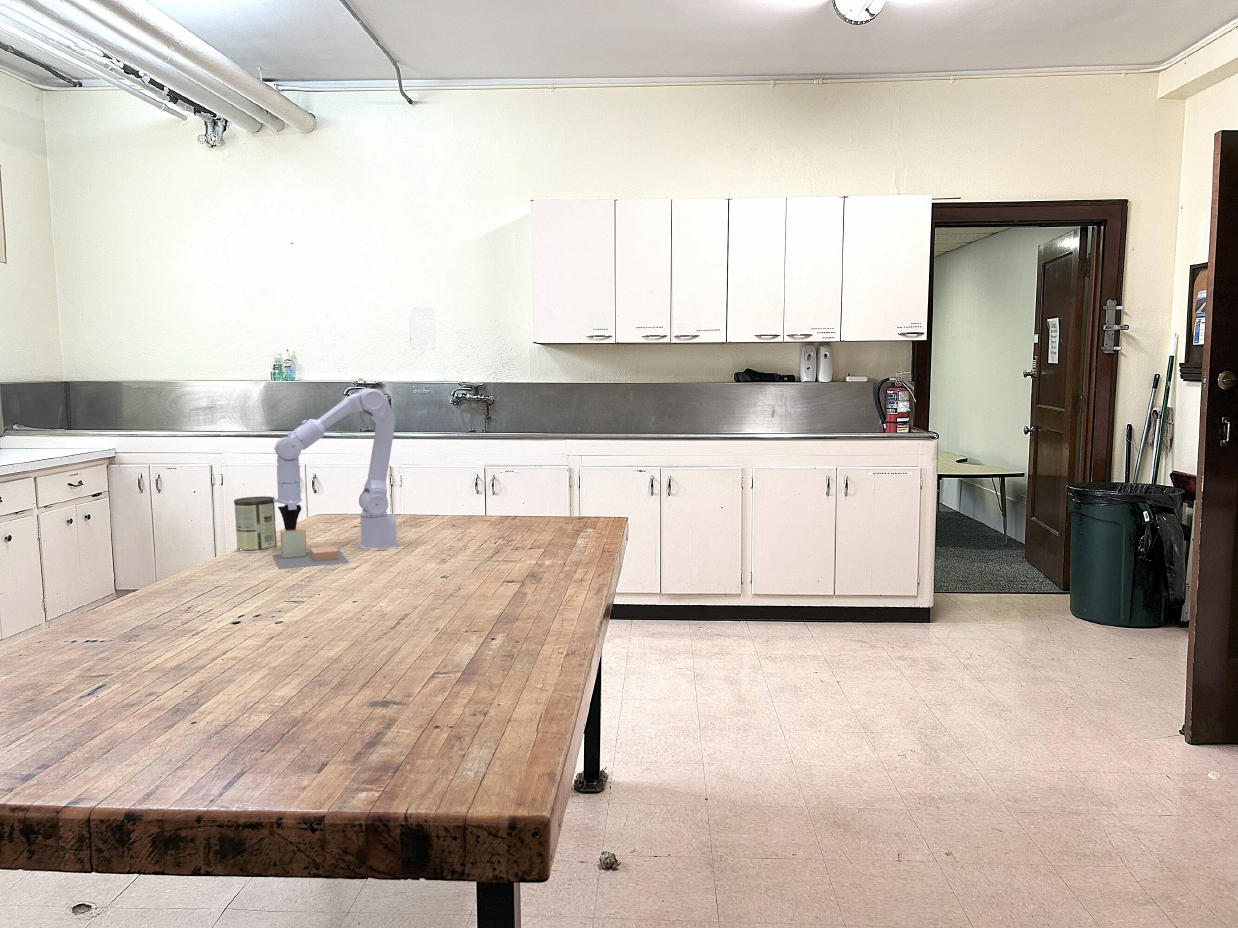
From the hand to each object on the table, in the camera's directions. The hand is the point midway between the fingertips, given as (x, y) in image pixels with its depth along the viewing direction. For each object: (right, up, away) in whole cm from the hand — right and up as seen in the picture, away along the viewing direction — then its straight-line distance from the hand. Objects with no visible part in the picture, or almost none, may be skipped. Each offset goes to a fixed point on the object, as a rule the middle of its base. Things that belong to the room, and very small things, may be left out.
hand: (290, 532), depth 237 cm
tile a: (+10, -5, -3) cm, 11 cm away
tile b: (+3, -6, -5) cm, 8 cm away
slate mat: (+8, -7, -7) cm, 13 cm away
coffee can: (-11, -5, +6) cm, 14 cm away
